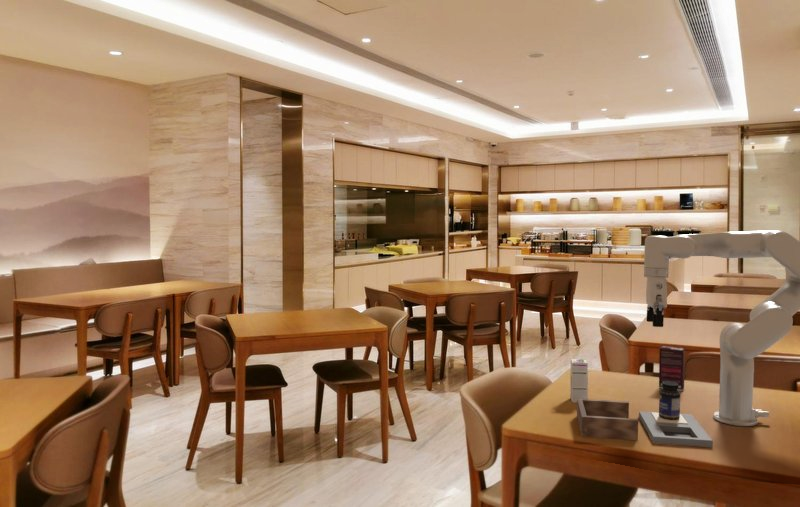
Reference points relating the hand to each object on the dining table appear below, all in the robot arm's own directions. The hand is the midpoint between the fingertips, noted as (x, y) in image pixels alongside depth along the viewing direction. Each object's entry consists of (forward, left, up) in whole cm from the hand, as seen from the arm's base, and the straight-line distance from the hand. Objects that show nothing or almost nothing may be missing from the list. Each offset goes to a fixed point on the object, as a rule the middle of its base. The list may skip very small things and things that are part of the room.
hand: (654, 324), depth 205 cm
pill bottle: (-3, +10, -28) cm, 30 cm away
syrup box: (+23, -10, -31) cm, 40 cm away
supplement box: (-13, -33, -31) cm, 47 cm away
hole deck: (-3, +17, -30) cm, 35 cm away
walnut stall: (+17, +18, -30) cm, 39 cm away
